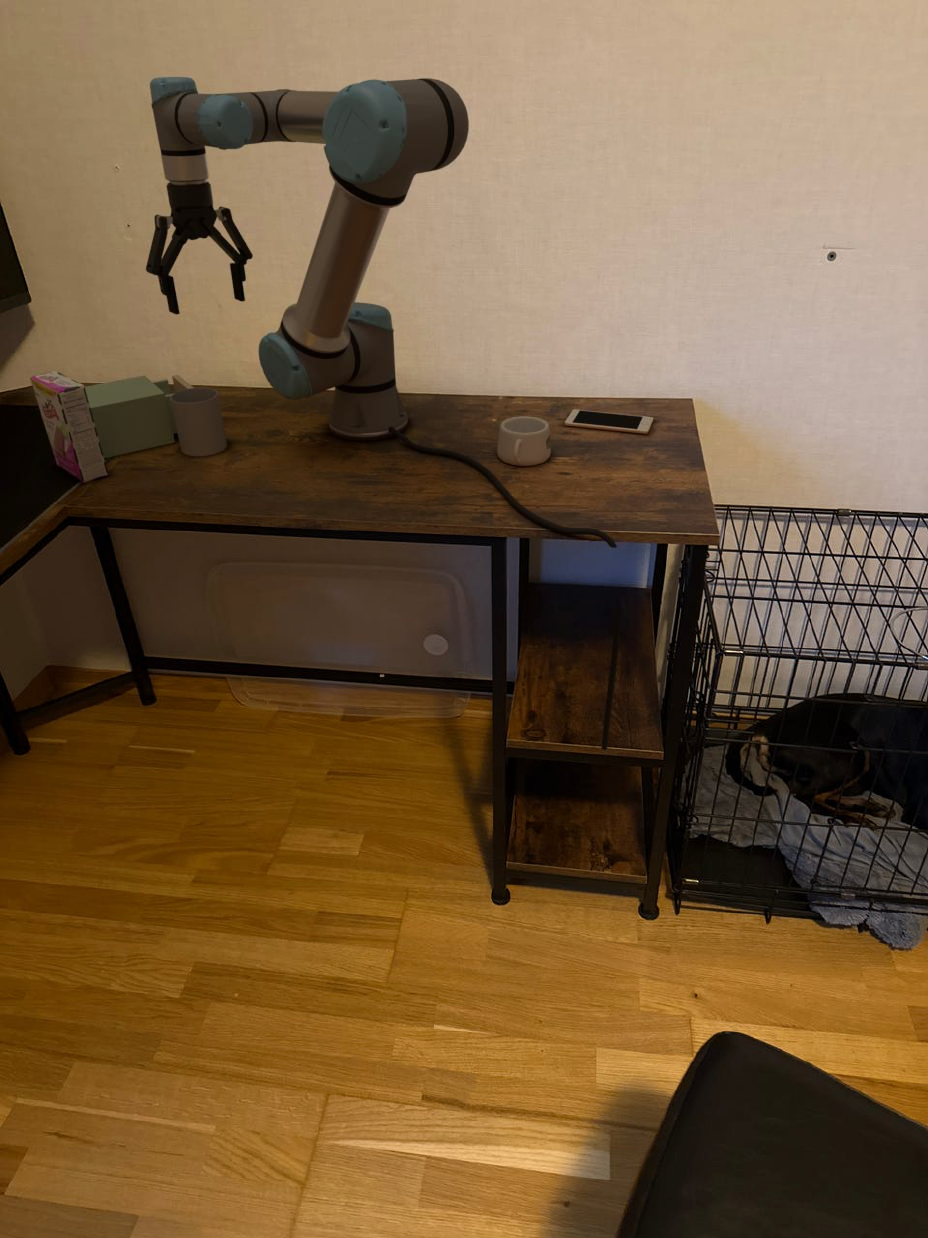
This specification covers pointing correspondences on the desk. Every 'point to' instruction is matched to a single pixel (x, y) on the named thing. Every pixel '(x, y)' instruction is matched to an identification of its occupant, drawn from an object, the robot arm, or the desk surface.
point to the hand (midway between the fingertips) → (207, 306)
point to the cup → (199, 421)
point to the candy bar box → (69, 425)
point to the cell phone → (609, 421)
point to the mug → (524, 441)
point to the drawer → (178, 385)
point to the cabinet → (129, 415)
